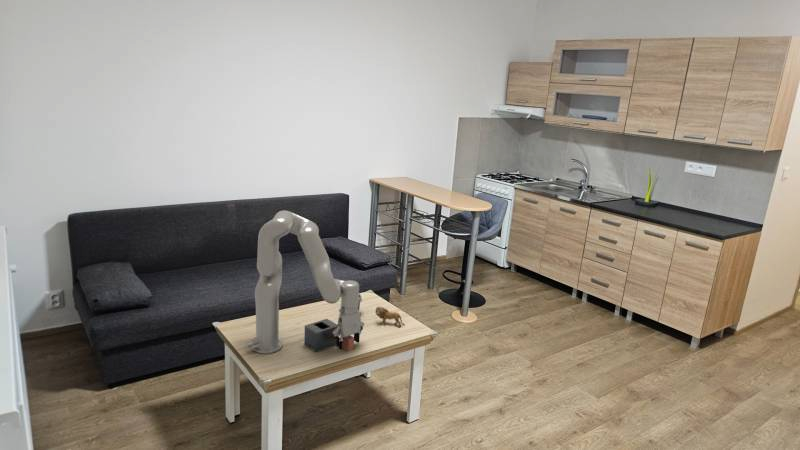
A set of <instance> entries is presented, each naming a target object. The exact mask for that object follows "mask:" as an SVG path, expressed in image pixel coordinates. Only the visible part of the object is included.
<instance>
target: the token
mask: <svg viewBox="0 0 800 450" xmlns="http://www.w3.org/2000/svg"><path fill="white" fill-rule="evenodd" d="M342 349H345V350H346V351H347V352H349V351H352V350H354V349H355V341H354V336H352V335H350V336H347V337H343V338H342Z"/></svg>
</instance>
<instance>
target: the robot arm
mask: <svg viewBox="0 0 800 450" xmlns="http://www.w3.org/2000/svg"><path fill="white" fill-rule="evenodd" d="M289 233H290V234H293V235H295V236H297V240H298V243H299V244H300V246H301V249H302V251H303V253H304V255H305V258H306V259H307V262H308V264H309V267H310V270H311V273H312V275H313V278H314V281H315V284H316V286H317V289H318V290H319V293H320V295H321V297H322V299H323V300H324V302H326V303H327V304H336V303H338V302H339V301H340V309H338V310H339V311H338V312H339V315H338V318H337V325H338V327H337V329H335V330H334V331H333V332H332V334H333V336H334V338H335V339H337V345H336V348H337V349H339V350H343V347H342V338H343V337H347V336H352V335H353V337H354V343H355V342H356V343H358V344H359V343H360V338H361V337H360V335H361V334H362V331H363V329H364V327H365V322H363V321H362V320H361V313H360V309H359V310H358V301H359V294H360V284H359V282H357V281H356V280H350V279H349V280H342V279H338V278H335V277H334V275H333V273H332V269H331V268H332V267H331V261H330V257H329V254H328V253H327V250H326V248H325V246H324V243H323V242H322V239H321V236H320V235H319V233H320V229H319V226H318V225H317V224H316V223H315V222H313V221H311V220H310V219H307V218H306V217H303V216H301V215H298V214H296V213H294V212H292V211H289V210H284V209H283V210H280V211H278V212H276V214H275V215H274V216H273V218H272V219H271V220H269V221H267V222H266V223H264V225H262V226H261V228H260V229H259V232H258V236H257V237H258V238H257V254H256V255H257V257H256V259H257V260H256V268H257V271H258V273H259V280H258V281H257V283H256V286H255V290H254V302H255V337H254V338H253V341H251V342H248V343H245V348H246V349H250V348H251V350H253V351H254V352H255V353H258V354H263V355H264V354H267V355H268V354H274V353H277V352H279V351H280V350H281V349H282V348H283V342H282V341H281V340H280V339H279V335H280V332H279V331H280V329H279V327H280V326H279V325H280V320H279V319H280V302H279V294H280V290H281V289H280V288H281V286H282V279H283V278H282V275H283V273H282V272H283V257H282V253H281V252H280V251H279V248H280V239H281V238H282V237H284V236H286V235H288V234H289ZM337 333H338V334H337Z"/></svg>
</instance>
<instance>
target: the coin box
mask: <svg viewBox="0 0 800 450" xmlns="http://www.w3.org/2000/svg"><path fill="white" fill-rule="evenodd" d="M337 327H338V323H335V322H334V321H332V320H331V319H328V318H325V319H321V320H317V321H314V322H312V323H308V324H306V325H304V338H303V339H304V343H303V344H304V345H305V346H306V347H308V348H310V349H311V350H313V351H314V352H315V353H317V352H321V351H323V350H325V349H328V348H331V347H334V346H337V339H335V338H334V336H333V334H332V332H333V331H334V330H335V329H337ZM337 334H338V333H337Z"/></svg>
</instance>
